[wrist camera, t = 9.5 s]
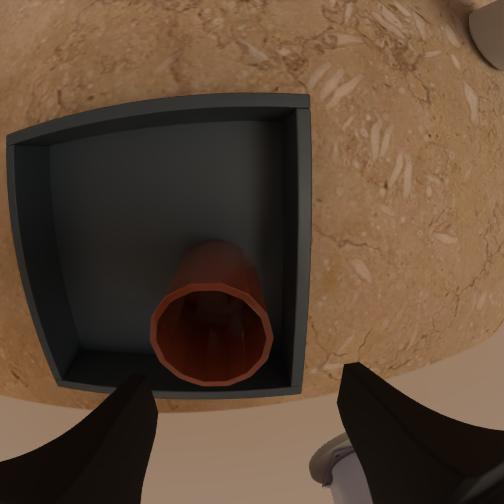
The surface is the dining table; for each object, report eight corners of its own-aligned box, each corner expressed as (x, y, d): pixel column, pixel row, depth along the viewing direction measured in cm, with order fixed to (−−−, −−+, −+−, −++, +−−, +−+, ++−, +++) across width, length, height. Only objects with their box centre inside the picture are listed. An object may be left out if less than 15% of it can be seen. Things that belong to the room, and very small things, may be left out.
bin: (288, 353, 21) (301, 394, 16) (81, 352, 20) (57, 386, 15) (290, 112, 16) (310, 94, 12) (46, 138, 15) (6, 134, 11)
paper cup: (259, 313, 19) (272, 383, 12) (180, 316, 19) (160, 385, 12) (257, 238, 18) (274, 280, 11) (172, 241, 17) (139, 285, 11)
